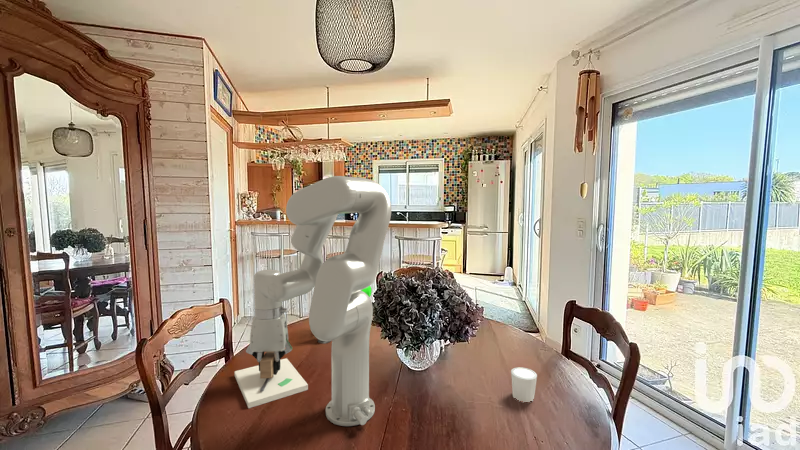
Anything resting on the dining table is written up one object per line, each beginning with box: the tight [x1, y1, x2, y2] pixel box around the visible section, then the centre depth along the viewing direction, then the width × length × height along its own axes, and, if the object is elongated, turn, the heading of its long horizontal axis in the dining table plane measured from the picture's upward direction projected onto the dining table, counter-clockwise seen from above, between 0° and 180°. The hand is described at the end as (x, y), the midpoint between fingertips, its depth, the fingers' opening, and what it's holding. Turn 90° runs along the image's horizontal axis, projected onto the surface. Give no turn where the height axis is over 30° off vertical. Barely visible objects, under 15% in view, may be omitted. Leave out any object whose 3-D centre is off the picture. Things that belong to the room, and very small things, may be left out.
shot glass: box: [510, 366, 538, 403], centre depth 97 cm, size 7×7×7 cm
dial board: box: [234, 357, 309, 409], centre depth 103 cm, size 20×16×2 cm
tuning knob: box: [260, 352, 275, 392], centre depth 101 cm, size 12×3×7 cm, turn 5°
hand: (269, 372), depth 103 cm, fingers closed on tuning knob, 3 cm apart
